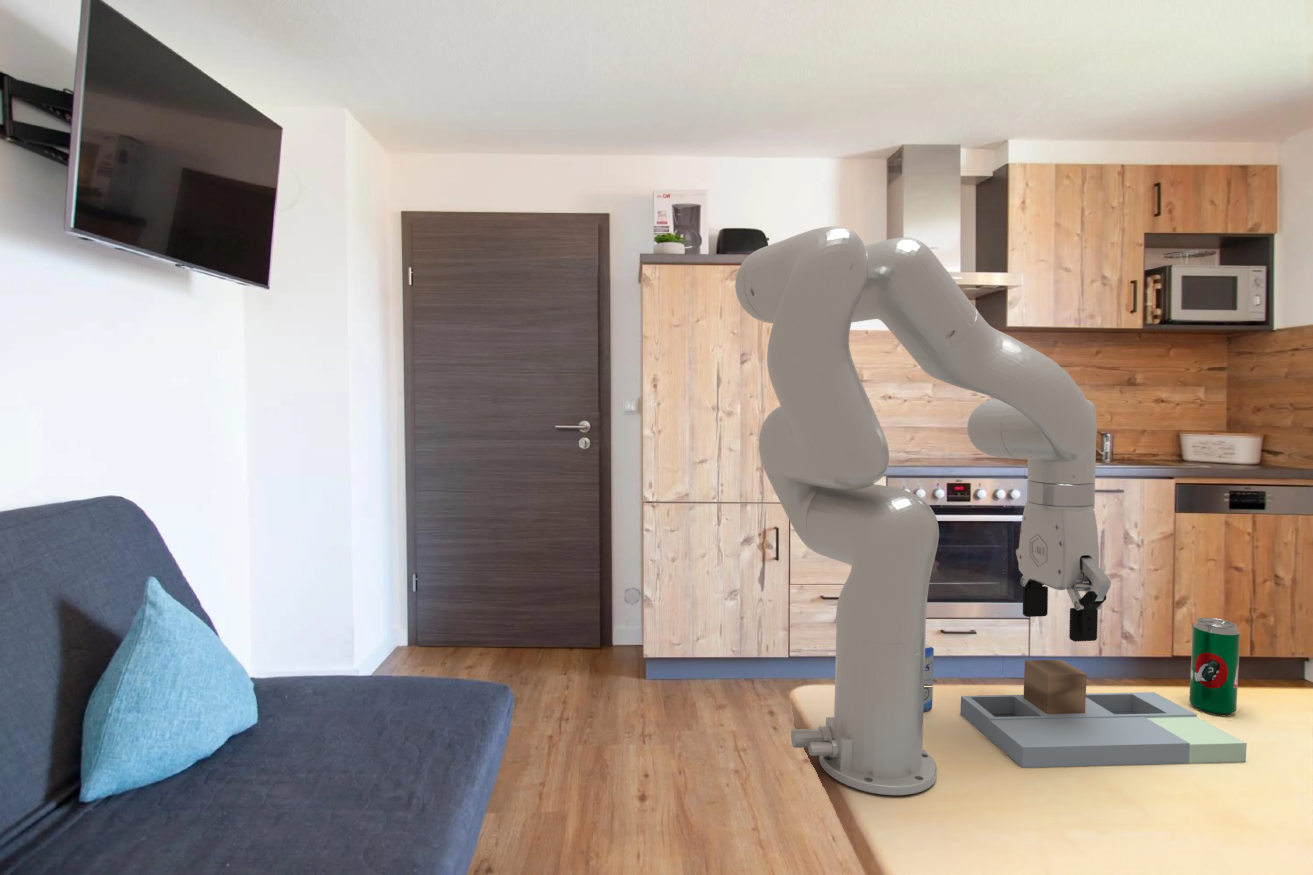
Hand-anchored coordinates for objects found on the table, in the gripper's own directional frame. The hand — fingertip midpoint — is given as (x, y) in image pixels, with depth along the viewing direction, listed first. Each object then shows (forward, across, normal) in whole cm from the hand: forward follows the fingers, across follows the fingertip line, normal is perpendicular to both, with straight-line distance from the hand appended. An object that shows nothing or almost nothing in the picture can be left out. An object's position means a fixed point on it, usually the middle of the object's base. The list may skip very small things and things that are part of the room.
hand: (1057, 627), depth 93 cm
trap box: (+12, +4, +2) cm, 13 cm away
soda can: (+13, -3, +24) cm, 28 cm away
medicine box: (+12, -5, -19) cm, 23 cm away
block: (+10, +1, -1) cm, 10 cm away
